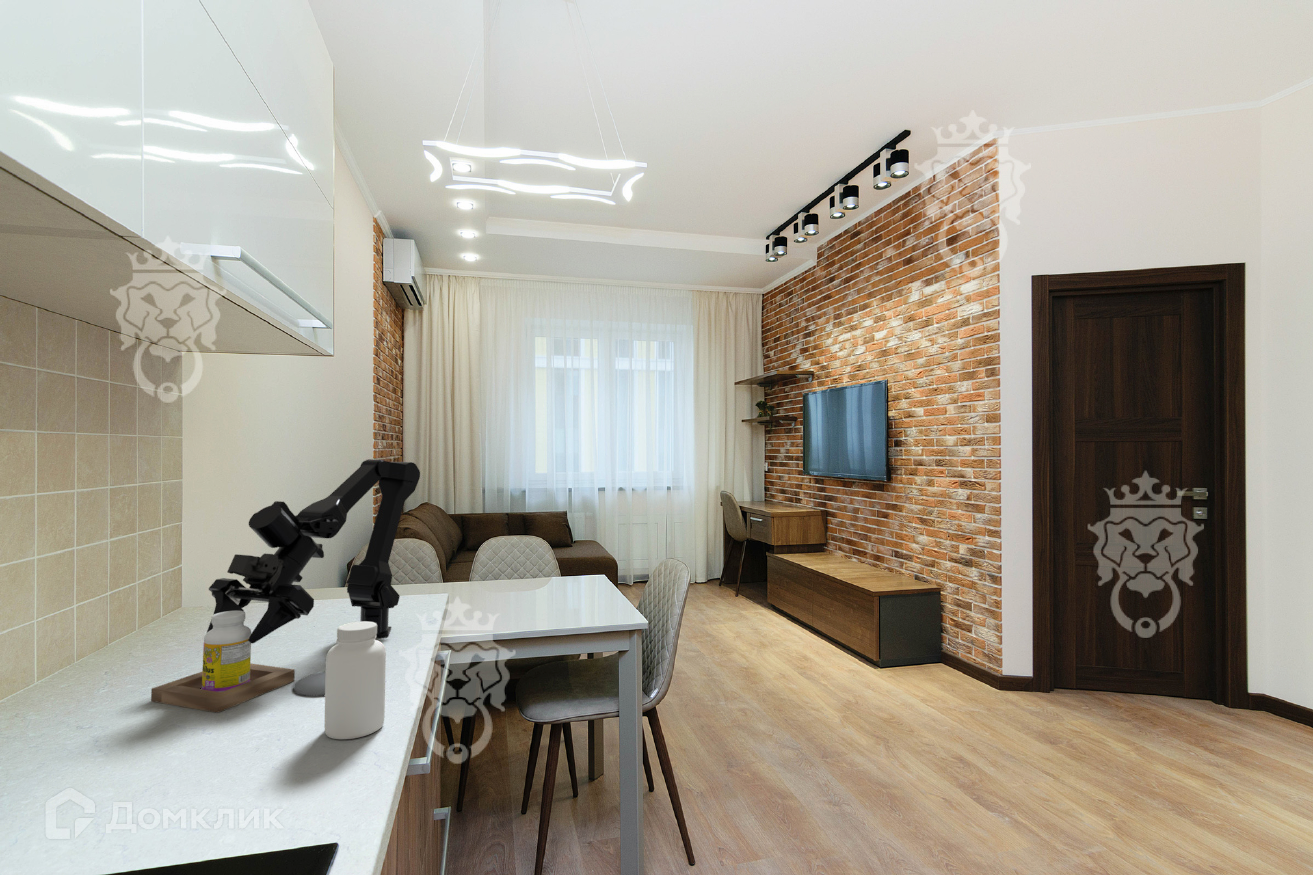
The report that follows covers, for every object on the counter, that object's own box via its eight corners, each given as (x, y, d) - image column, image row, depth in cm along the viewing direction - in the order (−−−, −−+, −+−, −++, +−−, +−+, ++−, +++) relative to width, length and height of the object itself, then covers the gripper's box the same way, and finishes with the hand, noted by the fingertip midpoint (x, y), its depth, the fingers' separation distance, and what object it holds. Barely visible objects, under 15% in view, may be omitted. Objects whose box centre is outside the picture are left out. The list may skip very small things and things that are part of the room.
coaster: (302, 675, 111) (303, 672, 111) (369, 670, 114) (369, 667, 114) (285, 699, 100) (285, 695, 100) (359, 692, 103) (359, 688, 103)
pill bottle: (354, 713, 95) (357, 616, 96) (396, 722, 92) (399, 621, 93) (310, 735, 88) (313, 629, 88) (354, 745, 85) (357, 635, 85)
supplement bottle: (198, 690, 103) (201, 613, 104) (244, 680, 108) (247, 606, 108) (205, 701, 99) (208, 621, 99) (253, 691, 103) (256, 614, 104)
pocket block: (232, 671, 112) (233, 660, 112) (294, 680, 108) (294, 669, 108) (150, 701, 98) (151, 688, 99) (217, 712, 95) (218, 699, 95)
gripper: (221, 533, 112) (154, 608, 101) (303, 539, 107) (242, 618, 96) (258, 569, 119) (199, 643, 108) (336, 576, 114) (283, 654, 103)
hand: (229, 639), depth 104 cm, fingers open, 9 cm apart
